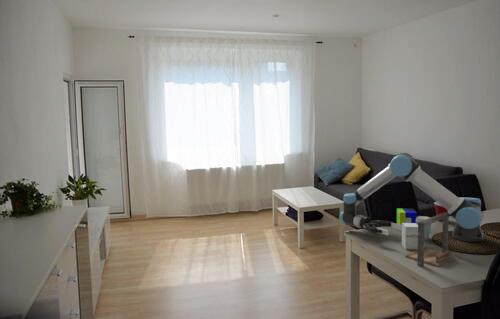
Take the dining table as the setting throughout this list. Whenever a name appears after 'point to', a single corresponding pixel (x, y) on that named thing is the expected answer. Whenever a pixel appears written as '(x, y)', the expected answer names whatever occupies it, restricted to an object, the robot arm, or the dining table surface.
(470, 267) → the dining table surface
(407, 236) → the supplement box
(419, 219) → the coffee cup
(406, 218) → the puzzle toy
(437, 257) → the keeper arch
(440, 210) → the plastic cup
